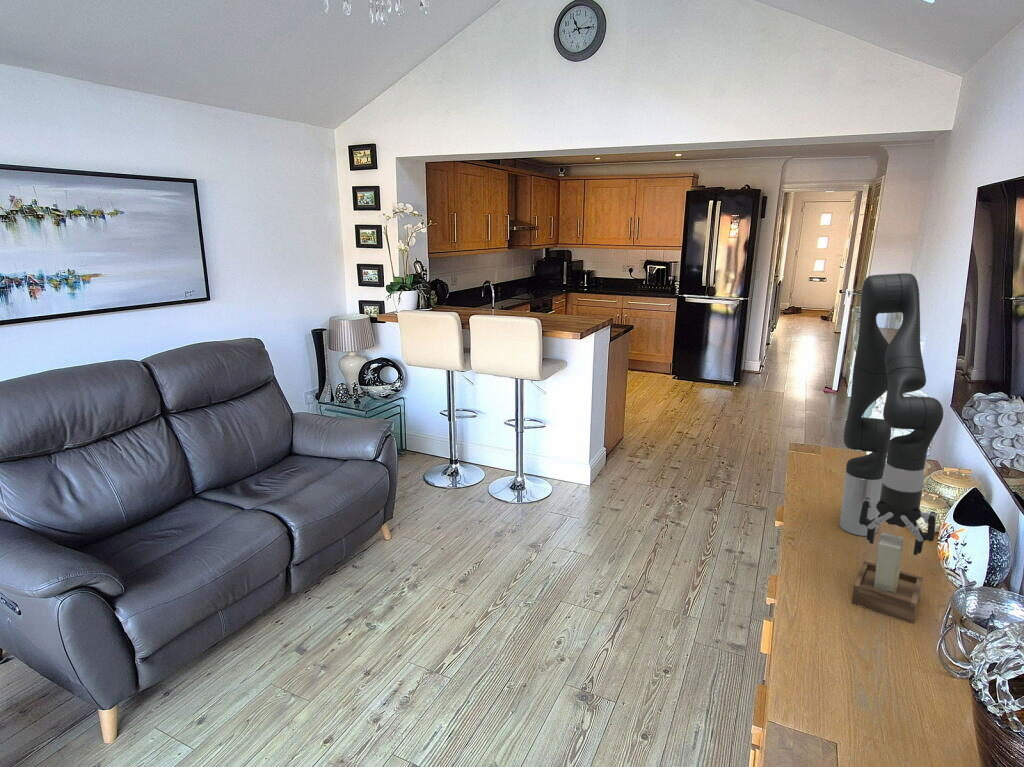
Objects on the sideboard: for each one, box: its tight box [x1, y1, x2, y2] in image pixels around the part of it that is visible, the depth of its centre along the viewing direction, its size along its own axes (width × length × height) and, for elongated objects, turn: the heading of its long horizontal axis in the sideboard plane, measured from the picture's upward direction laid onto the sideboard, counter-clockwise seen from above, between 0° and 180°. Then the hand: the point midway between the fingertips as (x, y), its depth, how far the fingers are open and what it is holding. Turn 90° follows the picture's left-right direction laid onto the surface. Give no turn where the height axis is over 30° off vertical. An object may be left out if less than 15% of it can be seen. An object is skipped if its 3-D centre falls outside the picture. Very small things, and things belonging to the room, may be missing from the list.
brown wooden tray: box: [851, 560, 924, 624], centre depth 137 cm, size 12×12×6 cm
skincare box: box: [874, 532, 904, 595], centre depth 135 cm, size 6×4×12 cm
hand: (893, 547), depth 134 cm, fingers open, 8 cm apart
